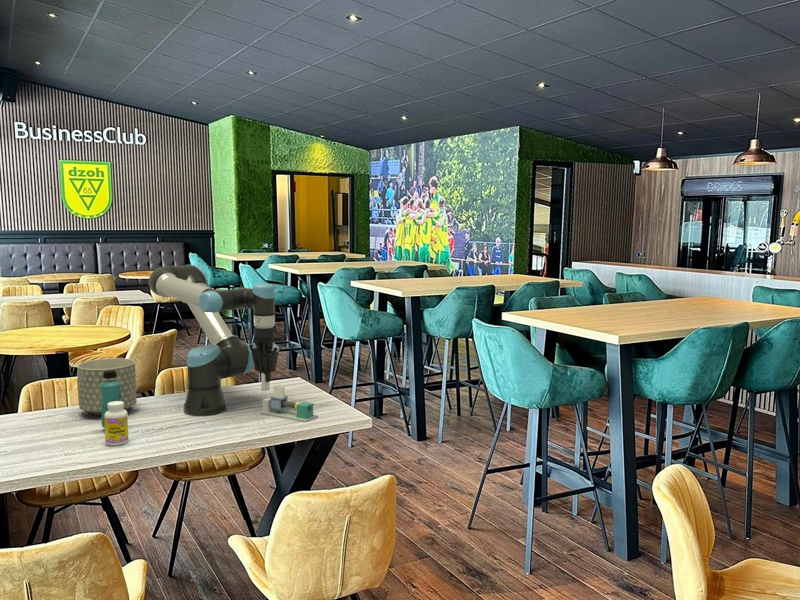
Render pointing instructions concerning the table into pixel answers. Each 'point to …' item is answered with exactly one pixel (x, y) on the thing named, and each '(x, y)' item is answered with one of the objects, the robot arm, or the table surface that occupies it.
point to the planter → (93, 378)
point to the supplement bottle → (116, 424)
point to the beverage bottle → (109, 392)
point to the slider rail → (302, 413)
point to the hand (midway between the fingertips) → (265, 390)
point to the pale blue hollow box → (278, 398)
